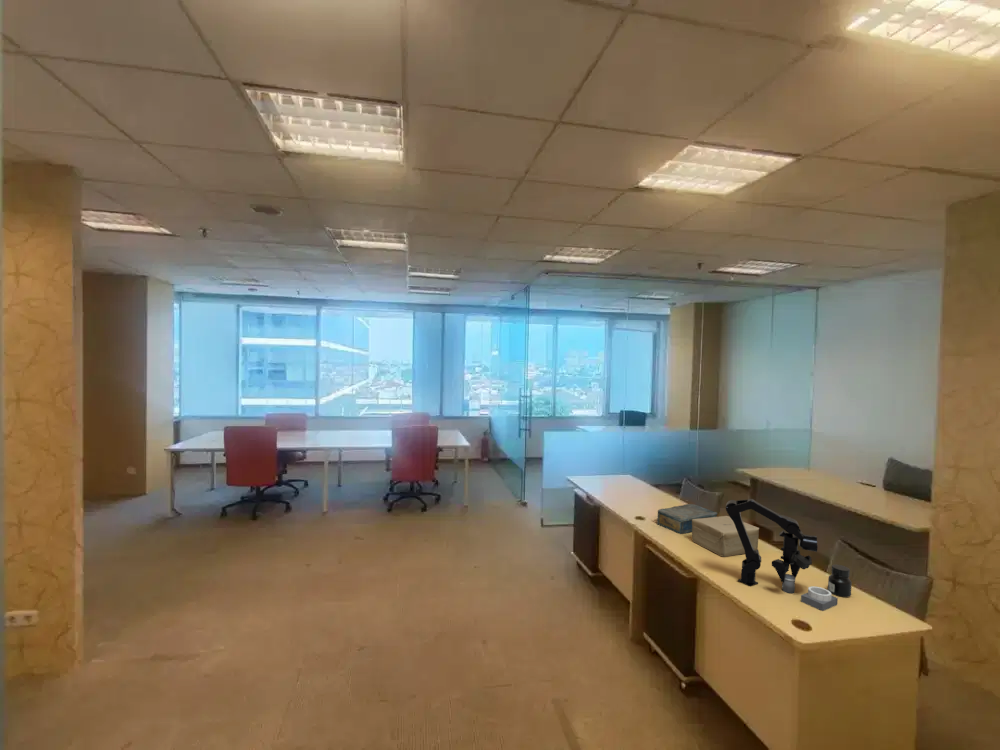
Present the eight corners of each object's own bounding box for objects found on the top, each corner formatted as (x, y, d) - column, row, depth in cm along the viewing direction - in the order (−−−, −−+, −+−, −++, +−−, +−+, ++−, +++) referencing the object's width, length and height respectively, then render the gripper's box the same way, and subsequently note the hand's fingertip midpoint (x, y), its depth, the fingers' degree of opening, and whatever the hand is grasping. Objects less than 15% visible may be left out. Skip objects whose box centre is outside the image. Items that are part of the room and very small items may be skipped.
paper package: (725, 536, 298) (726, 513, 297) (760, 553, 274) (762, 528, 273) (688, 541, 289) (689, 517, 288) (722, 558, 264) (723, 532, 264)
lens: (790, 594, 225) (791, 579, 225) (779, 589, 230) (780, 574, 229) (797, 592, 228) (797, 577, 227) (785, 587, 232) (786, 572, 232)
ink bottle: (829, 586, 235) (830, 561, 234) (851, 592, 229) (853, 567, 229) (826, 593, 227) (828, 568, 227) (849, 600, 222) (851, 573, 221)
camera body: (822, 611, 211) (823, 598, 211) (800, 601, 219) (801, 589, 219) (837, 604, 217) (838, 592, 217) (815, 595, 225) (816, 583, 225)
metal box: (717, 528, 313) (718, 512, 313) (681, 535, 297) (682, 519, 297) (690, 517, 332) (691, 503, 331) (655, 524, 316) (655, 509, 316)
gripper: (796, 556, 216) (794, 591, 217) (819, 549, 225) (817, 583, 226) (771, 547, 226) (769, 581, 227) (795, 541, 235) (793, 573, 236)
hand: (788, 580), depth 229 cm, fingers open, 9 cm apart
